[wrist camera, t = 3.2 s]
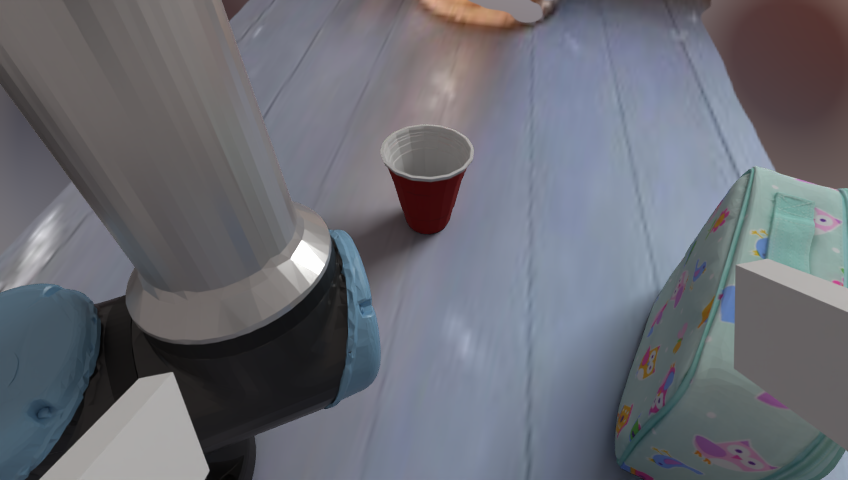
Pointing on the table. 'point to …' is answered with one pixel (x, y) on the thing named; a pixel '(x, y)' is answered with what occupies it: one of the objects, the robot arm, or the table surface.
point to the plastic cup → (427, 172)
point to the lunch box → (729, 345)
